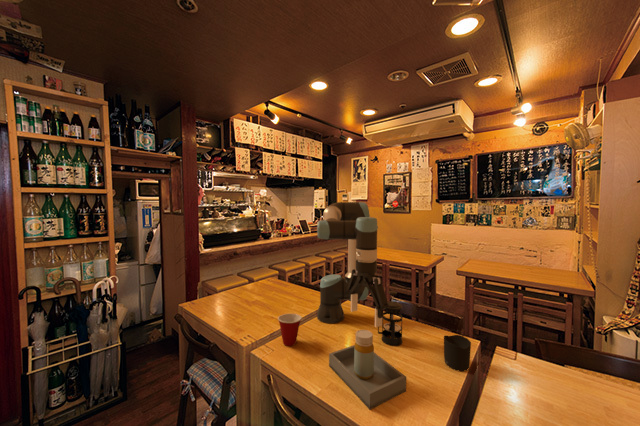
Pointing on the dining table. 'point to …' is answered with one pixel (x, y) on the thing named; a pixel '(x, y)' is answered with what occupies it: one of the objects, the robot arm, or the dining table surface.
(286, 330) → the plastic cup
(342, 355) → the crate
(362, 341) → the bottle
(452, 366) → the pen holder
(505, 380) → the dining table surface
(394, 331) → the french press
